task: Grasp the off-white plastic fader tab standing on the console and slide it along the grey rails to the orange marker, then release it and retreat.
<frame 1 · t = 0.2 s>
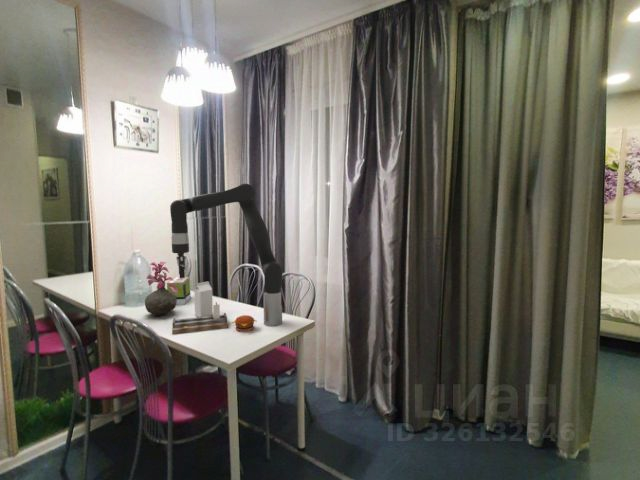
hand: (181, 276, 157), 28 cm above the table, fingers open, 8 cm apart
hamburger: (244, 329, 168), on the table
vase: (162, 314, 188), on the table
fader console: (200, 325, 171), on the table
milk carton: (203, 315, 187), on the table
tea box: (179, 302, 212), on the table
fader tab: (216, 311, 173), point 7 cm above the table, slide at -8.0 cm
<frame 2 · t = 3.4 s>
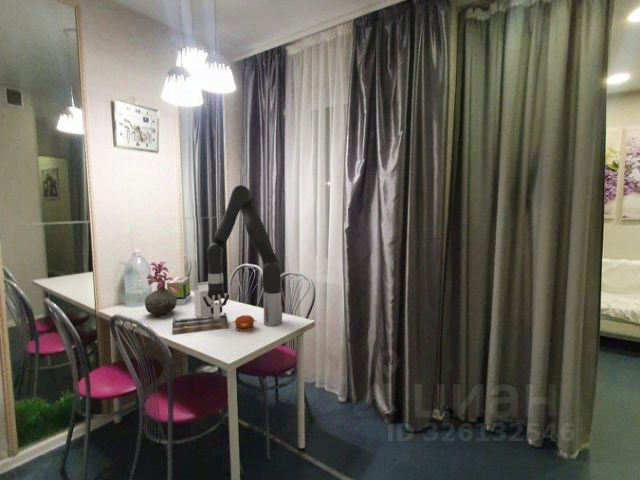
hand: (216, 313, 173), 6 cm above the table, fingers closed on fader tab, 3 cm apart
fader tab: (216, 311, 173), point 7 cm above the table, slide at -8.0 cm, touching gripper
everything else where it was.
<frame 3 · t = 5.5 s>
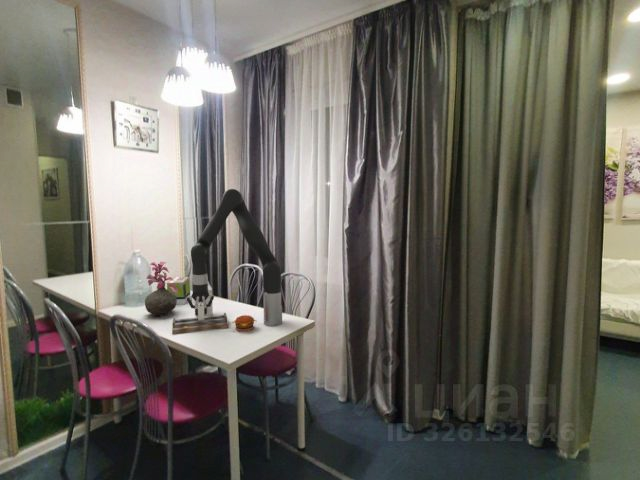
hand: (201, 315, 170), 6 cm above the table, fingers closed on fader tab, 3 cm apart
fader tab: (201, 313, 170), point 7 cm above the table, slide at -0.4 cm, touching gripper
everything else where it was.
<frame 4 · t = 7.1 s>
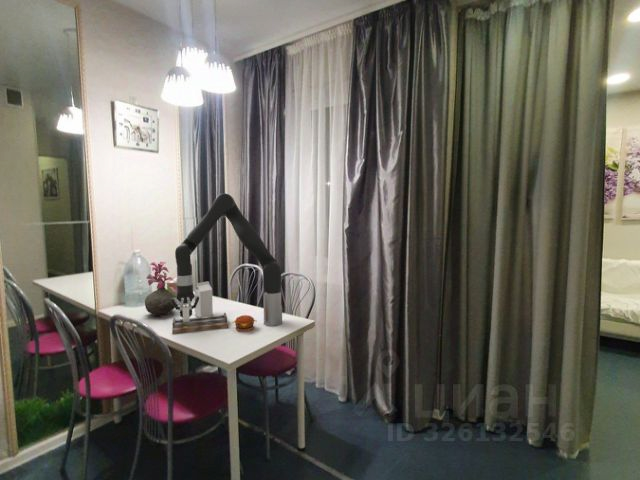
hand: (186, 316, 168), 6 cm above the table, fingers closed on fader tab, 3 cm apart
fader tab: (186, 314, 168), point 7 cm above the table, slide at 6.7 cm, touching gripper
everything else where it was.
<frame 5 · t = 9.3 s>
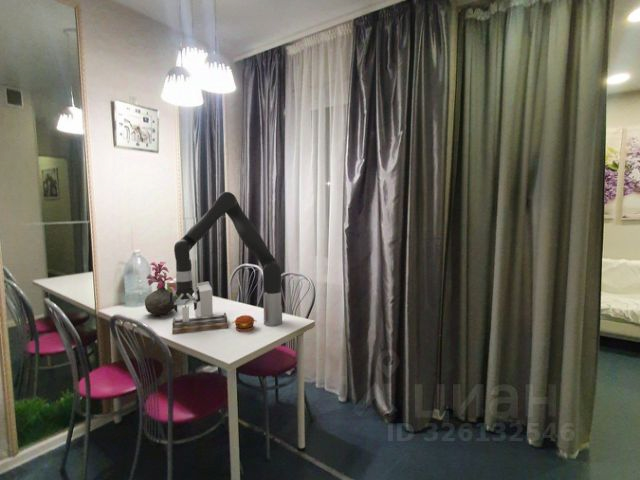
hand: (185, 310, 167), 9 cm above the table, fingers open, 8 cm apart
fader tab: (185, 314, 168), point 7 cm above the table, slide at 6.9 cm
everything else where it was.
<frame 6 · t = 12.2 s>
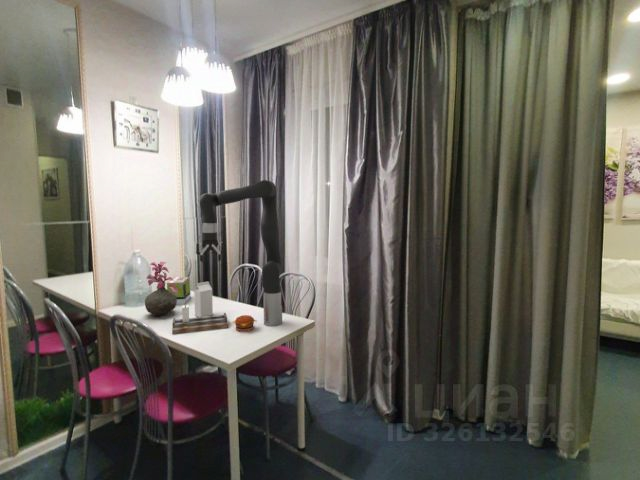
hand: (210, 261, 177), 32 cm above the table, fingers open, 8 cm apart
nothing on the table moved.
at the end: fader tab slide at 6.9 cm; the gripper is holding nothing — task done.
